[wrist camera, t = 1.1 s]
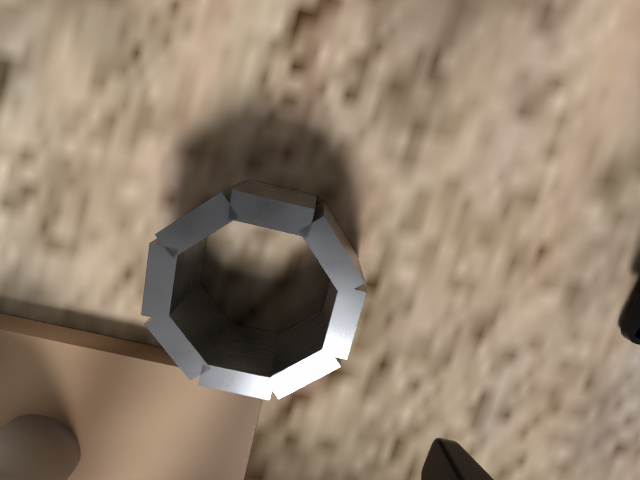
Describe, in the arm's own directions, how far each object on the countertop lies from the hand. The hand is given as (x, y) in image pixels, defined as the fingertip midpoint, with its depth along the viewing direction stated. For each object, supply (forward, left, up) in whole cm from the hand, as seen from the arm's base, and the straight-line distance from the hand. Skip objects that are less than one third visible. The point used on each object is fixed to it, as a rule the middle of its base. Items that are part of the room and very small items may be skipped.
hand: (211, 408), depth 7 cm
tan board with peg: (+6, +10, -8) cm, 14 cm away
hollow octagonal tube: (0, 0, -8) cm, 8 cm away
